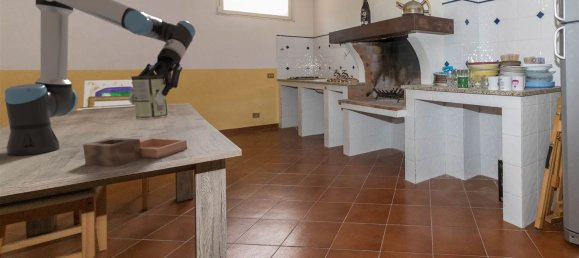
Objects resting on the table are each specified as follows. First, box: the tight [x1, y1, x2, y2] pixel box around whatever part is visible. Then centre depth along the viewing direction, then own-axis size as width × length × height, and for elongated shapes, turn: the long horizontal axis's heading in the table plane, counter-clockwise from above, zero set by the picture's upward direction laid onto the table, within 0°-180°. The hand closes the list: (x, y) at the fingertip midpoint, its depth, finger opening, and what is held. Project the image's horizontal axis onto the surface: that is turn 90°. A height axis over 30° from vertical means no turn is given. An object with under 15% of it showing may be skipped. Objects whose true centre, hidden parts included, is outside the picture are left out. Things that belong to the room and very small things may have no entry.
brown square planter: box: [82, 137, 142, 168], centre depth 106 cm, size 11×11×6 cm
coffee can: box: [131, 75, 169, 121], centre depth 115 cm, size 10×10×14 cm
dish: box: [140, 137, 188, 160], centre depth 117 cm, size 15×15×3 cm
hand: (143, 102), depth 112 cm, fingers closed on coffee can, 10 cm apart
